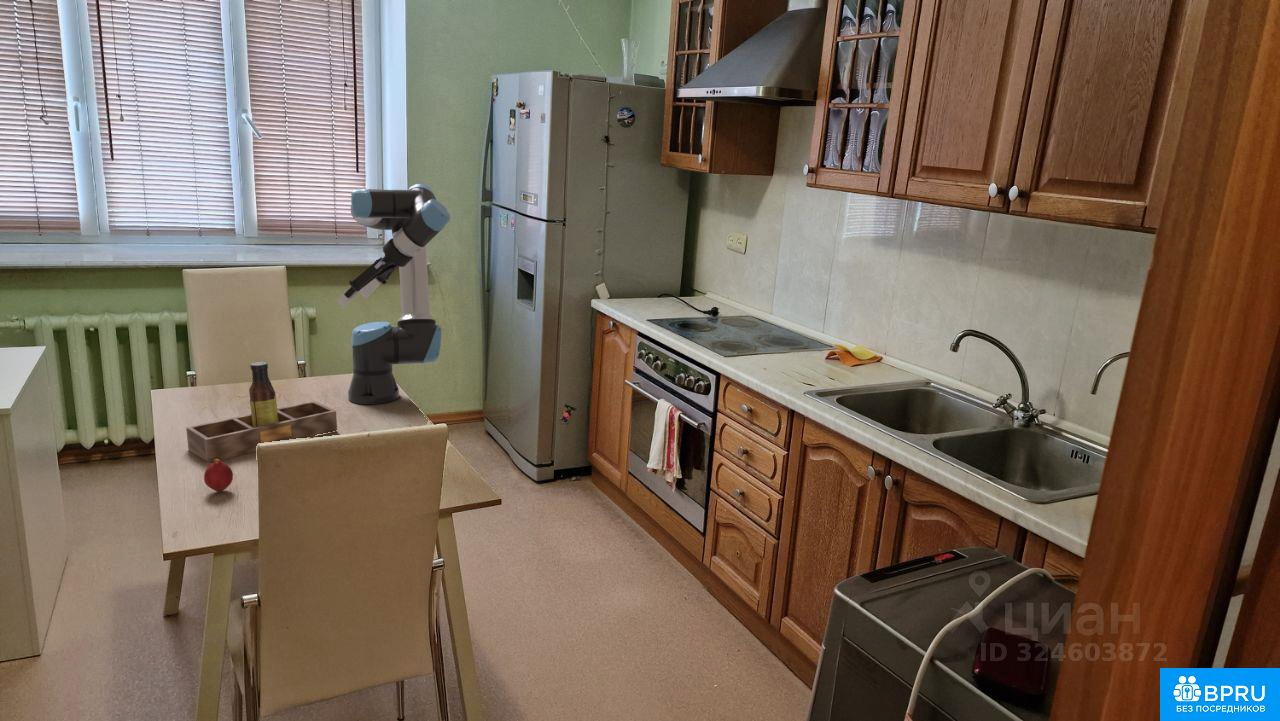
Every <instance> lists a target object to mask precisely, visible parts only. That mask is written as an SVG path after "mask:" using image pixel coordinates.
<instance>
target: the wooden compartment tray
mask: <svg viewBox="0 0 1280 721" xmlns="http://www.w3.org/2000/svg"><path fill="white" fill-rule="evenodd" d="M277 412H278V423H274V424H269V425H264V426H260V427H255V428H253V423H252V414H251V413H249V414H245V415H240V416H235V417H229V418H226V419H220V420H217V421H215V420H214V421H212V422H207V423H202V424H197V425H191V426H186V427H185V428H186V430H185V431H186V440H187V448H188V449H189V450H190V451H189V450H188V451H189V452H191V453H192V452H193V453H192V454H194V455H195V454H196V455H195V456H197V457H198V456H199V458H200V459H201V458H202V459H201V460H203V461H204V460H205V462H206V463H207V462H208V464H209V462H210V463H214V462H213V461H214V460H215V459H219V460H220V461H221V460H226V459H229V458H230V459H231V458H234V457H237V456H238V457H239V456H243V455H247V454H250V453H254V452H257V451H256V446H257V444H258V443H264V442H272V441H280V440H289V439H296V438H307V437H313V438H316V437H315V435H317V434H323V433H328V432H333V431H336V430H337V431H338V421H337V411H336V410H334V409H332V408H331V407H328V406H326V405H324V404H321V403H320V402H317V401H315V400H312V401H308V402H307V401H306V402H302V403H298V404H297V403H296V404H293V405H287V406H284V407H279V408H278V407H277ZM321 436H323V435H318V436H317V437H321Z"/></svg>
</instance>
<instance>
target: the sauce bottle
mask: <svg viewBox="0 0 1280 721" xmlns="http://www.w3.org/2000/svg"><path fill="white" fill-rule="evenodd" d="M268 369H269V364H268V362H265V361H256V362H252V363H250V370H251V374H252V378H251V379H252V382H251V384H250V387H249V389H248V391H249V402H250V403H249V405H250V412H251V413H250V414H252V423H253V428H255V427H260V426H264V425H269V424H274V423H278V412H277V409H278V405H277V396H276V391H275V389H274V387H273V384H272V382H271V381H270V378H269V373H268Z"/></svg>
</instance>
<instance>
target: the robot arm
mask: <svg viewBox="0 0 1280 721" xmlns="http://www.w3.org/2000/svg"><path fill="white" fill-rule="evenodd" d="M350 194H351V195H350V196H351V197H350V202H351V204H350V213H351V216H352V218H353V220H354V221H356V222H357V223H358V224H359V225H362V226H364V227H367V228H370V229H373V230H382V231H384V230H386V231H391V235H392V238H390V239H389V240H388V241H387V242H386V243H385V244H384V245H383V246H382V251H383V253H384V256H383V257H379V258H378V259H376V260H375V261H374V262H373V263H372V264H371V265H370V266H368V267H367V268H366V269H365V270H364V271H362V272H361V273H360V274H359V275H358V276H357V277H356V278H354V279H353V280H349V281H348V284H349V286H348V287H347V288H346V289H345V290H344V291H343V292H342V293H341V294H340V296H338V297H337V299H336V300H335V301H336V303H338V305H339V306H341V308H343V309H344V308H345V307H347V305H348V304H349V303H350V302H351V301H352V300H353V299H354V298H355V297H356V296H357V295H358V294H359V295H360V296H362V297H363V298H364V299H365V300H366V299H367V298H369V297H370V296H371V295H372V293H374V291H375V290H376V289H377V288H378V287H379V286H380V285H381V284H383V285H385V284H387V280H389V278H390V277H391V275H392V274H394V272H395V270H396V269H397V268H398V267H399V268H398V270H399V272H398V273H399V285H400V303H401V304H400V305H401V316H400V318H399V319H398V320H397V326H392V324H391V323H390V322H388V321H374V322H368V323H363V324H361V325H358V326H356V327H354V328H353V330H352V332H351V343H350V344H351V347H352V348H351V351H352V354H351V355H352V377H351V380H350V384H349V388H348V390H347V399H348V400H349V401H350V402H352V403H354V404H359V405H379V404H380V405H381V404H387V403H390V402H393V401H396V400H397V399H399V397H400V389H399V386H398V383H397V381H396V378H395V376H394V374H393V366H394V365H404V364H405V365H406V364H425V363H426V364H427V363H435V362H436V361H438V358H439V356H440V351H441V346H442V326H441V325H439V324H436V318H434V317H433V316H432V315H431V309H430V307H431V306H430V291H429V277H428V258H427V244H429V243H430V242H431V241H432V240H433V239H434V238H435V237H436V236H437V235H438V234H439V233H440V232H442V230H444V228H445V227H446V225H447V224H448V223H449V222H450V220H451V213H450V212H449V211H448V209H447V208H446V206H444V205H443V204H442V203H441V202H440V201H437V198H436V195H435V193H434V192H433V189H431V187H430V186H428V185H426V184H423V183H416V184H413V185H412V186H410V187H409V188H408V189H376V188H374V189H373V188H369V189H368V188H357V189H356V188H354V189H352V190H351V192H350Z"/></svg>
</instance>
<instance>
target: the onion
mask: <svg viewBox="0 0 1280 721" xmlns="http://www.w3.org/2000/svg"><path fill="white" fill-rule="evenodd" d="M233 480H234V473H233V469H232V468H231V467H230V466H229V465H228V463H225V462H223V461H221V460H219V459H215V460H214V461H213V462H212V463H210V464H209V466H207V468H206V469H205V472H204V474H203V481H204V483H205V485H206V487H208V488H210V489H212V490H213V491H215V492H217V493H222V492H223V491H225V490H226V489H227V488H229V487H230V486H231V484H232V482H233Z"/></svg>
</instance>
